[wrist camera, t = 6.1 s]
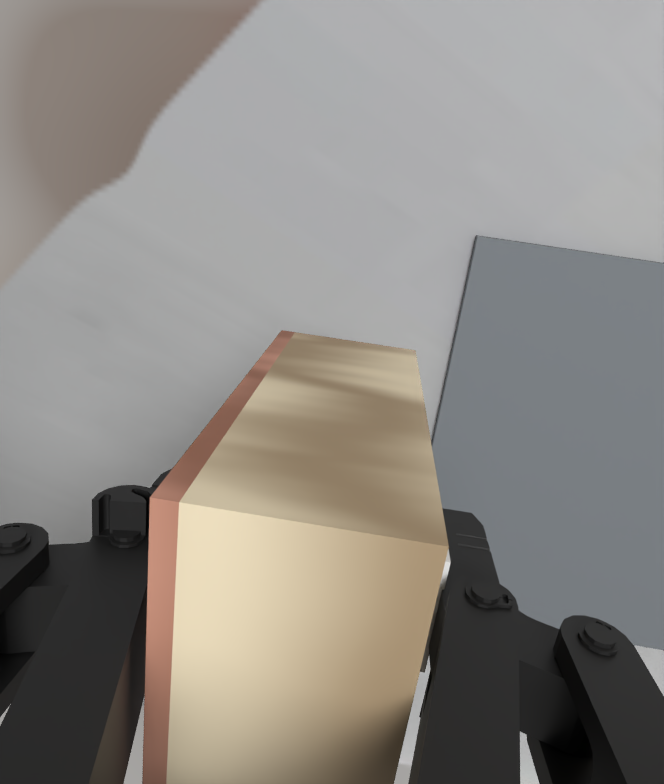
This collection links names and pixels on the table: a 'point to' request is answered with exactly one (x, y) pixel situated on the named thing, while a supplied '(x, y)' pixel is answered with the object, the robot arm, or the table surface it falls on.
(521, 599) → the mat
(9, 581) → the robot arm
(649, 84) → the table surface
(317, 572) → the face block
